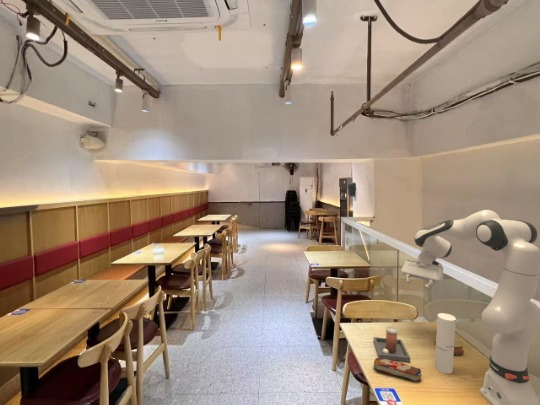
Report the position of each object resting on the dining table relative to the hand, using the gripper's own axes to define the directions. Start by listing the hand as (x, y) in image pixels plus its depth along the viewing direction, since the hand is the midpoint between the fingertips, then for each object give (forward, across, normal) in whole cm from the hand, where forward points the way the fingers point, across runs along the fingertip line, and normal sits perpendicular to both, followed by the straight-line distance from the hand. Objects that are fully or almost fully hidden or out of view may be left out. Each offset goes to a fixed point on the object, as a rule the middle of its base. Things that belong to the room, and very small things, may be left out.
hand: (417, 285), depth 157 cm
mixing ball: (+38, -4, +4) cm, 38 cm away
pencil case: (+45, +5, 0) cm, 46 cm away
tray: (+35, -4, +9) cm, 36 cm away
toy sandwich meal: (+17, +15, +28) cm, 36 cm away
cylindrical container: (+32, +18, +13) cm, 39 cm away
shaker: (+34, -4, +9) cm, 36 cm away
